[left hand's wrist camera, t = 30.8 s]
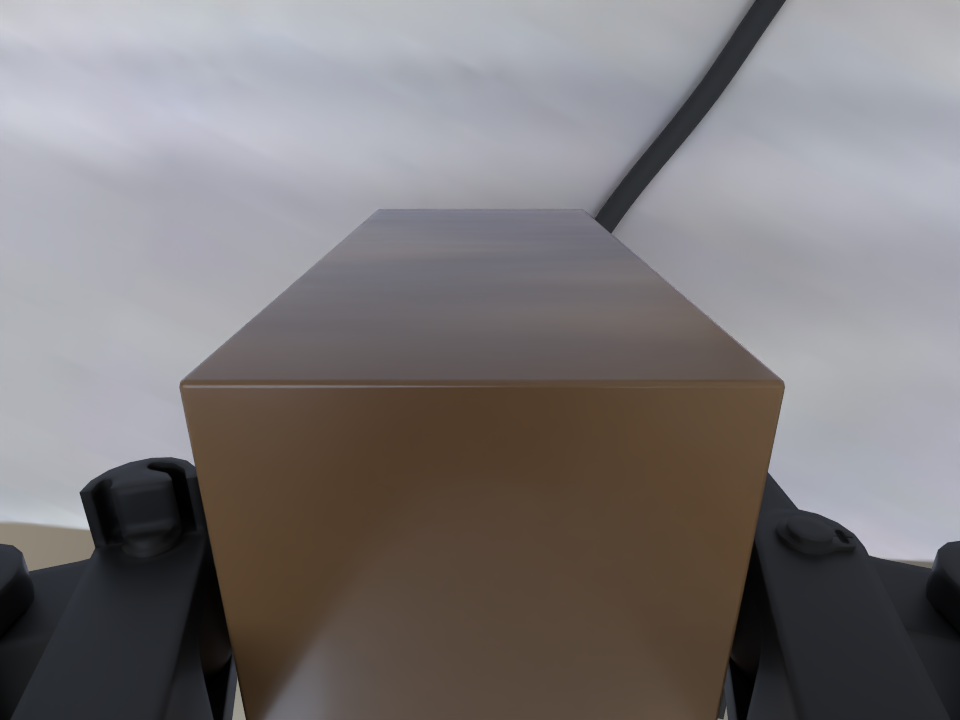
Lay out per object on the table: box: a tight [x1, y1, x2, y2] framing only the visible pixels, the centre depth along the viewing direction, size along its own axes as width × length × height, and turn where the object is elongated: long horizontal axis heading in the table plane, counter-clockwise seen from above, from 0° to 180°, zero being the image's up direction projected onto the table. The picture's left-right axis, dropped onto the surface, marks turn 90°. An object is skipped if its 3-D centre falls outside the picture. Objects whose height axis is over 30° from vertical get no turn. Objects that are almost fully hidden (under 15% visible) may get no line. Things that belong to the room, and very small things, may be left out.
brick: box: [180, 209, 785, 720], centre depth 11 cm, size 5×8×11 cm, turn 0°
